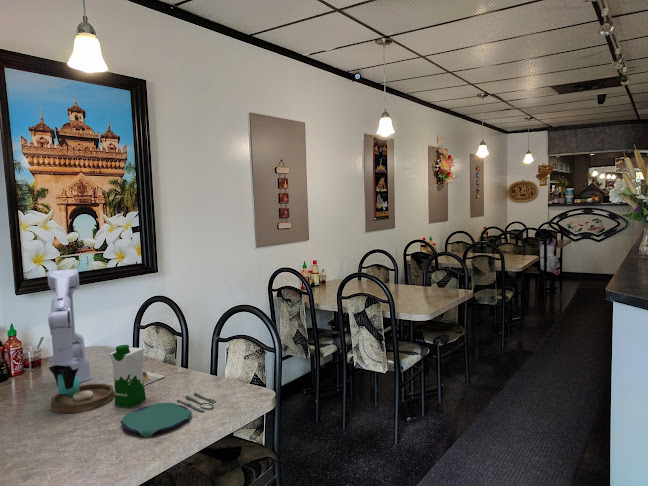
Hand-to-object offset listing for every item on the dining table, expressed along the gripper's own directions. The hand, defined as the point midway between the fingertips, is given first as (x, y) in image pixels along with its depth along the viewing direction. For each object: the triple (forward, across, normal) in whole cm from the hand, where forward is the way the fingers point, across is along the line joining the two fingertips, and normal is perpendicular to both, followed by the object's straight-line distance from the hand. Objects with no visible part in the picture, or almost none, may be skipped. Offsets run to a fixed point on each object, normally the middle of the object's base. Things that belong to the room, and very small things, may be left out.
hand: (65, 387), depth 158 cm
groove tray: (+7, 0, +6) cm, 9 cm away
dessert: (+8, +1, +29) cm, 30 cm away
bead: (+2, 0, 0) cm, 2 cm away
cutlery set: (+8, +37, +12) cm, 39 cm away
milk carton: (+7, +16, +13) cm, 22 cm away
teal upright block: (+6, -6, +6) cm, 10 cm away
